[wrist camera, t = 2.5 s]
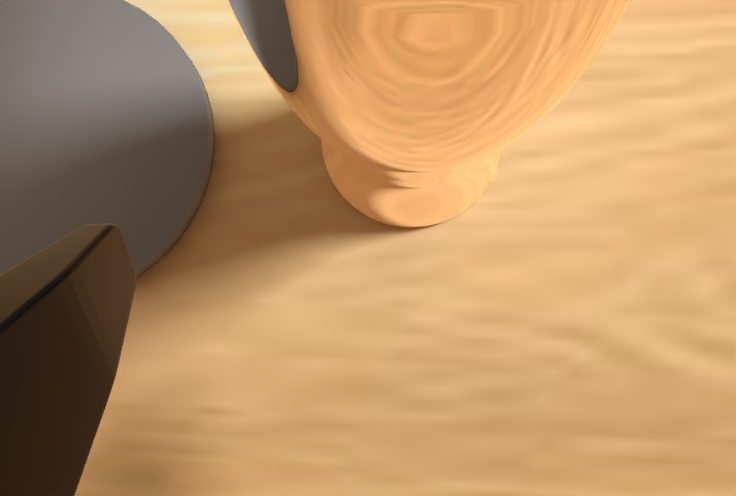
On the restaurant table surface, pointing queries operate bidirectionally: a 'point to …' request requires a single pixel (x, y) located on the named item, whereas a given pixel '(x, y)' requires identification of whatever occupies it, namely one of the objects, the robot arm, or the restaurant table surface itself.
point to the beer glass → (421, 87)
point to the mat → (97, 128)
